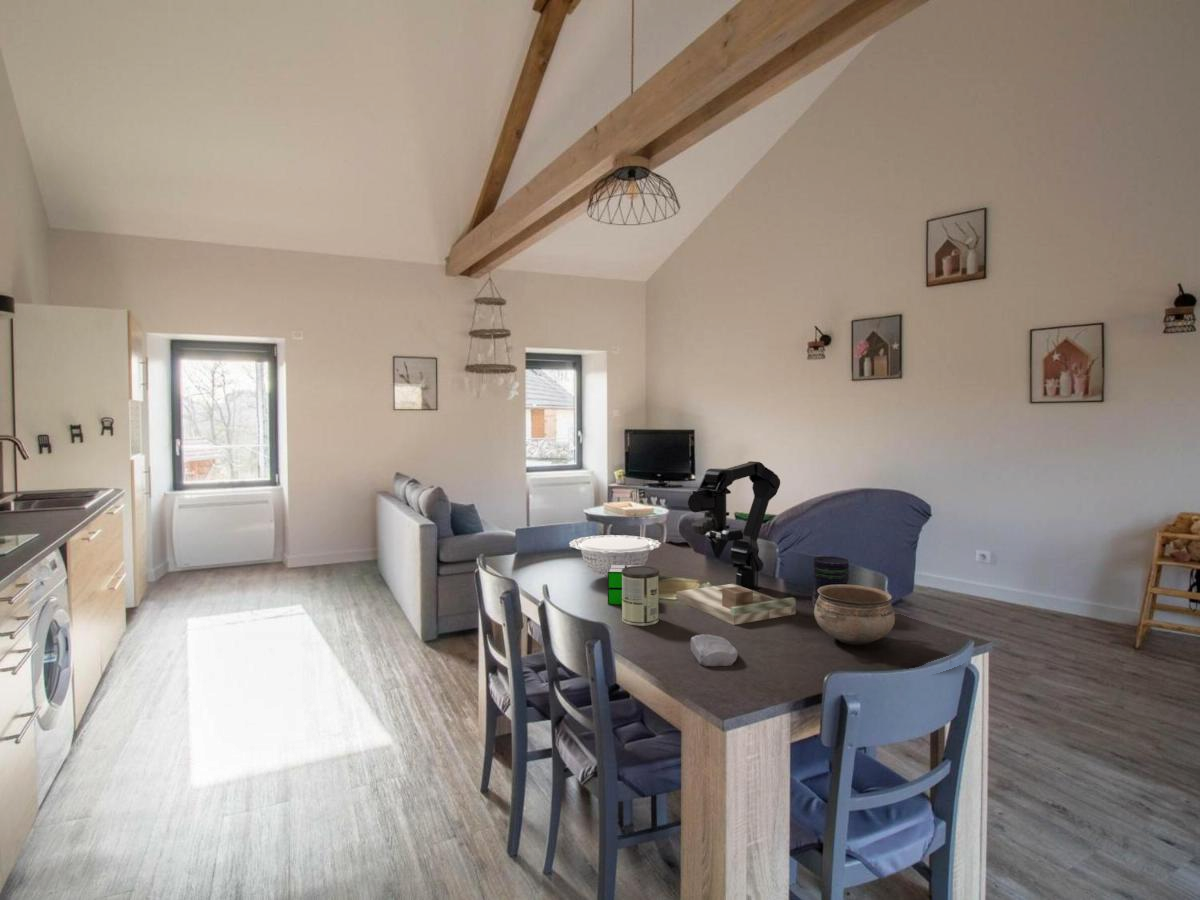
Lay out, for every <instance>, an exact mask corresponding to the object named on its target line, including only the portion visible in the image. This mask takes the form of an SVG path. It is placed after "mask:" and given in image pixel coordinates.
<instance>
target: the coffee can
mask: <svg viewBox="0 0 1200 900" xmlns="http://www.w3.org/2000/svg"><path fill="white" fill-rule="evenodd" d="M659 578H660V569H659V568H657V567H653V566H647V565H643V566H638V565H637V566H631V567H626V568H623V569H622V605H621V609H622V611H621V614H622V615H621V617H622V618H621V621H622V623H625V624H627V625H631V626H640V627H645V626H651V625H656V624H658V623H659V616H660V615H659V608H660V607H659V602H660V601H659V595H660V594H659V593H660V592H659V591H660V590H659V588H660V587H659V586H660V585H659V581H660V579H659Z"/></svg>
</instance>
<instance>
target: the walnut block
mask: <svg viewBox="0 0 1200 900" xmlns="http://www.w3.org/2000/svg"><path fill="white" fill-rule="evenodd" d="M751 590H752V589H750V590H748V589H746V588H743V587H740V586H737V587H730V588H723V589H722V606H723V607H726V608H728V609H730V607H734V606H740V605H747V604H753V591H754V590H753V591H751Z"/></svg>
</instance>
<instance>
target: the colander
mask: <svg viewBox="0 0 1200 900" xmlns="http://www.w3.org/2000/svg"><path fill="white" fill-rule="evenodd" d="M568 545H569V547H570V548H575V549H576V550H579V551H580V552H581V554H582V558H581V559H583V562H584V564H586V567H587V568H588V569H589V570H591V571H592V572H594V573H597V574H599V575H604V576H606V577H608V571H609V568H610V566H611V565H626V566H627V565H637V566H645V564H646V562H647V560H648V558H649V557H648V555H649V554H650V552H651V551H654V550H657V549H659V548H660V547H661V546H662V543H661V542H659V540H658V539H657V540H656V539H653V538H649V537H644V536H636V535H626V534H616V535H615V534H607V535H591V536H582V537H579V538H575V539H573V540H570V542H569V543H568ZM595 559H596V560H595Z"/></svg>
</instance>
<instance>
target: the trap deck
mask: <svg viewBox="0 0 1200 900" xmlns="http://www.w3.org/2000/svg"><path fill="white" fill-rule="evenodd" d="M737 586H739V585H736V583H728V584H722V585H721V584H720V585H714V586H707V587H699V588H693V589H685V590H678V591H675V599H676V598H677V600H676V601H678V602H680V603H683V604H685V605H687V606H690V607H692V608H694V609H696V610H699V611H701V612H704V613H706V614H708V615H710V616H713V617H714V618H717V619H719V620H722V621H723V622H726V623H728V624H731V625H732V626H735V625H742V624H746V623H753V622H757V621H758V622H759V621H763V620H771V619H775V618H780V617H787V616H788V617H789V616H792V615H796V602H797V601H796V600H797V599H796V598H795V597H793V596H791V597H785V598H779V599H778V598H775V597H772V596H769V595H767V594H764V593H761V592H758V591H756V590H754V589H748V590H751V591H753V604H747V605H740V606H734V607H730V609H728V608H726V607H723V606H722V589H723V588H730V587H737ZM740 587H741V586H740ZM743 588H744V587H743ZM746 589H747V588H746Z"/></svg>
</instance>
